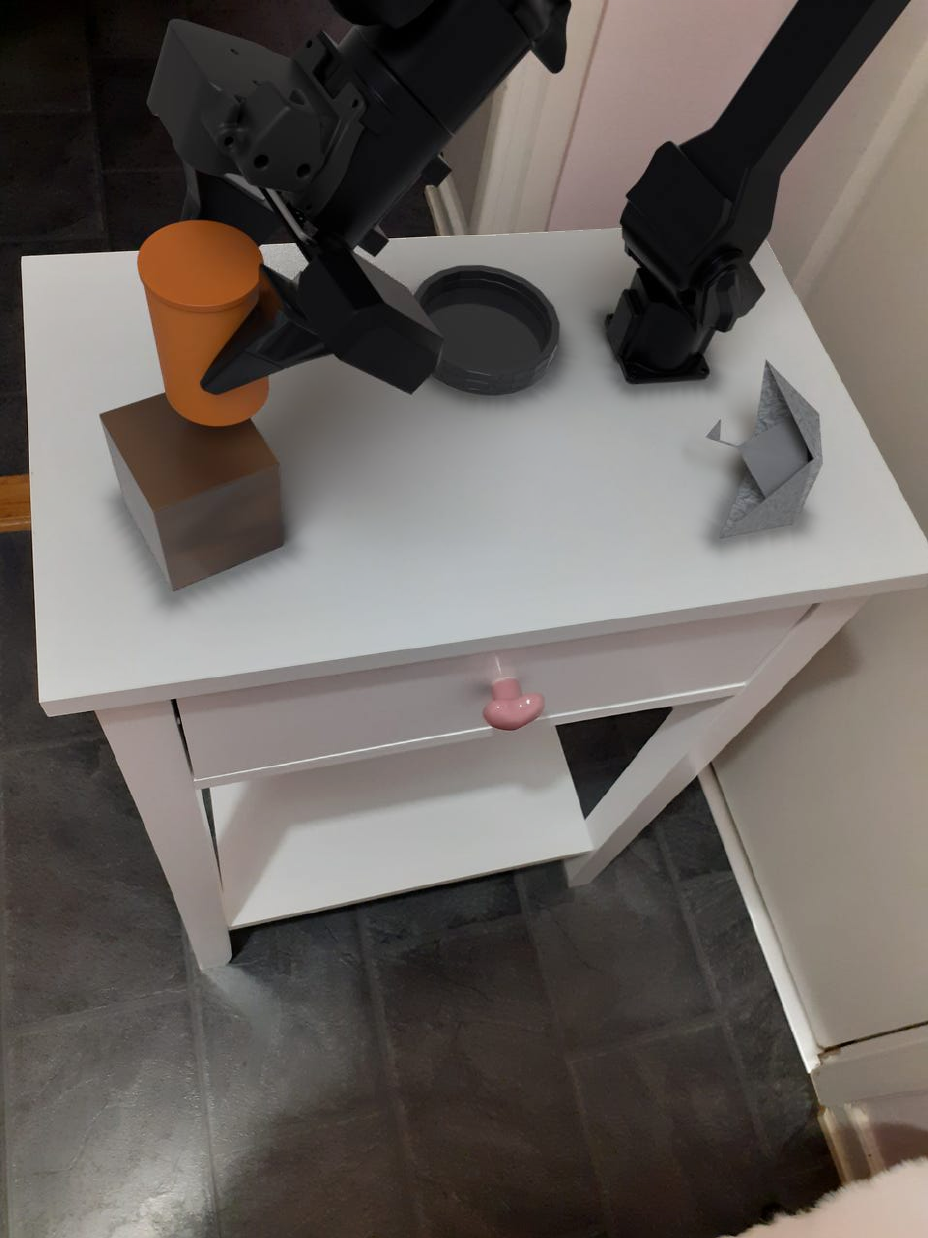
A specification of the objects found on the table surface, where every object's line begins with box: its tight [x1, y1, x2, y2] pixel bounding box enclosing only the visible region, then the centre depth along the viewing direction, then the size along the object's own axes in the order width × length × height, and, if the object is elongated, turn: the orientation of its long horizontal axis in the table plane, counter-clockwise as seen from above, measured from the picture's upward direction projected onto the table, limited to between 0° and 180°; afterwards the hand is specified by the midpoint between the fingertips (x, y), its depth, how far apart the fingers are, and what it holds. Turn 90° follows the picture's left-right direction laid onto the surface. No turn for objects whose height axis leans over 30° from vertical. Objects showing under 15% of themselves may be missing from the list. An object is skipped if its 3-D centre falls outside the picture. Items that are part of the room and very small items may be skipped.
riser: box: [98, 391, 284, 592], centre depth 52 cm, size 7×7×8 cm
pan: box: [412, 264, 561, 396], centre depth 66 cm, size 11×11×2 cm
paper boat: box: [705, 359, 824, 539], centre depth 61 cm, size 12×6×9 cm
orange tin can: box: [136, 220, 270, 426], centre depth 44 cm, size 5×5×8 cm
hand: (184, 349), depth 44 cm, fingers closed on orange tin can, 5 cm apart
